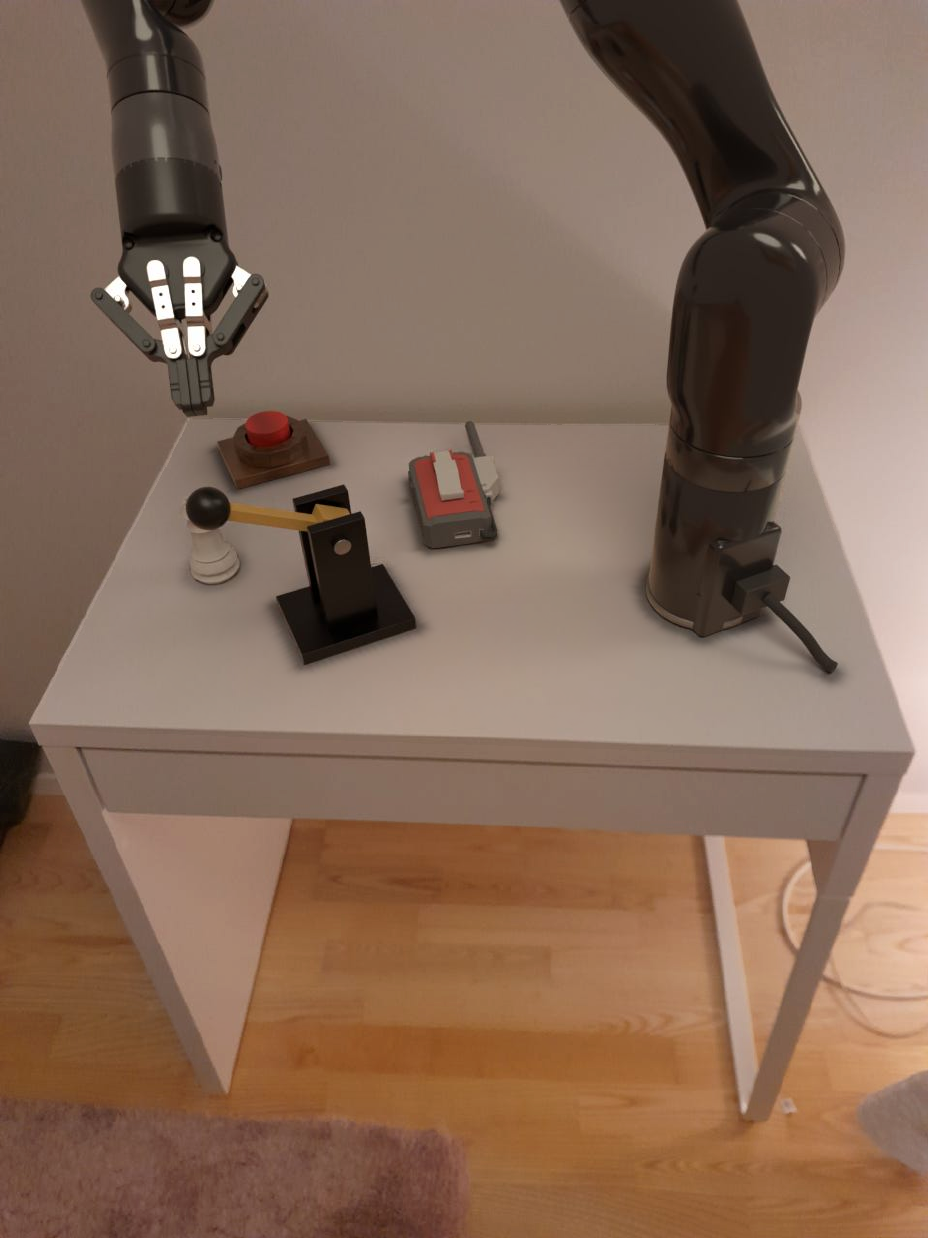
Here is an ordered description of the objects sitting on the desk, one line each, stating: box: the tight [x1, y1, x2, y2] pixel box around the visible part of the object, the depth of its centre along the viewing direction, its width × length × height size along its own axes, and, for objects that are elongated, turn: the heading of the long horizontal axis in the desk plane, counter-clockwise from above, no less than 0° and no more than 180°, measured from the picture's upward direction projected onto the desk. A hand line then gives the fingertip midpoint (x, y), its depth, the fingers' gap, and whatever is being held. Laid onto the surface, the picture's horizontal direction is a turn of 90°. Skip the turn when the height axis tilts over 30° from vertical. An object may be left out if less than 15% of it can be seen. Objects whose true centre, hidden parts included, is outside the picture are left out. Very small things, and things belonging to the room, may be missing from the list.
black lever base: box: [275, 484, 417, 666], centre depth 78 cm, size 10×8×12 cm
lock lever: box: [186, 486, 350, 532], centre depth 72 cm, size 13×3×3 cm, turn 113°
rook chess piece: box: [179, 494, 240, 585], centre depth 84 cm, size 4×4×8 cm
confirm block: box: [216, 415, 331, 490], centre depth 99 cm, size 10×8×3 cm
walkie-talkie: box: [407, 420, 500, 549], centre depth 93 cm, size 9×4×20 cm
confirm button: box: [244, 410, 291, 447], centre depth 98 cm, size 4×4×2 cm
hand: (195, 413), depth 68 cm, fingers closed
